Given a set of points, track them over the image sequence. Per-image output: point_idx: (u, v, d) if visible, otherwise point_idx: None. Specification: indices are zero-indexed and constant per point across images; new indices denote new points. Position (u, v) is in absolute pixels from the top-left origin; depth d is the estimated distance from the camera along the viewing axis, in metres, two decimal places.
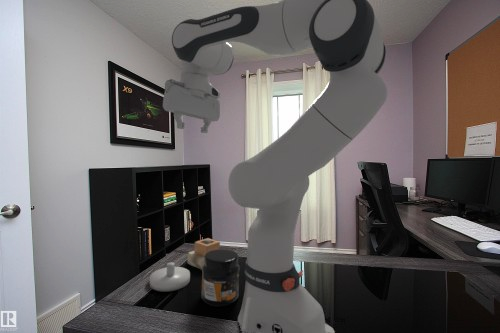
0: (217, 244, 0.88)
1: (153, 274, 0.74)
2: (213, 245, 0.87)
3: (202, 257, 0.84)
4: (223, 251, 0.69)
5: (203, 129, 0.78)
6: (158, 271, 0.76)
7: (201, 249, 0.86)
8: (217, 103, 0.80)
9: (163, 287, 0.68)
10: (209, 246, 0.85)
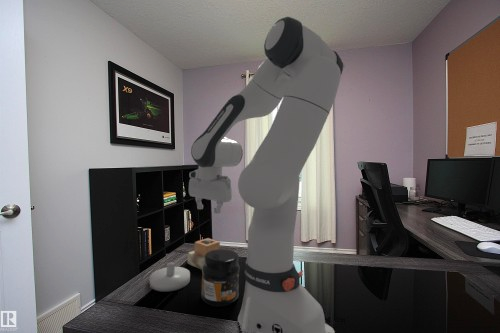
0: (217, 244, 0.88)
1: (153, 274, 0.74)
2: (213, 245, 0.87)
3: (202, 257, 0.84)
4: (223, 251, 0.69)
5: (202, 206, 0.92)
6: (158, 271, 0.76)
7: (201, 249, 0.86)
8: None
9: (163, 287, 0.68)
10: (209, 246, 0.85)
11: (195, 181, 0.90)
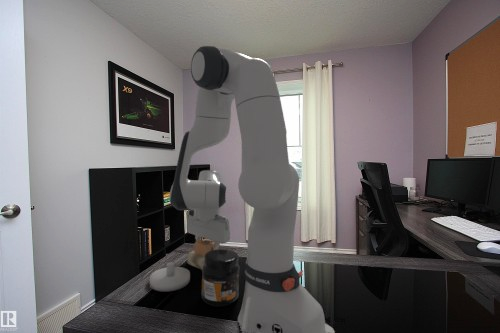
0: None
1: (153, 274, 0.74)
2: (213, 245, 0.87)
3: (202, 257, 0.84)
4: (223, 251, 0.69)
5: None
6: (158, 271, 0.76)
7: (201, 249, 0.86)
8: None
9: (163, 287, 0.68)
10: (209, 246, 0.85)
11: (193, 219, 0.90)
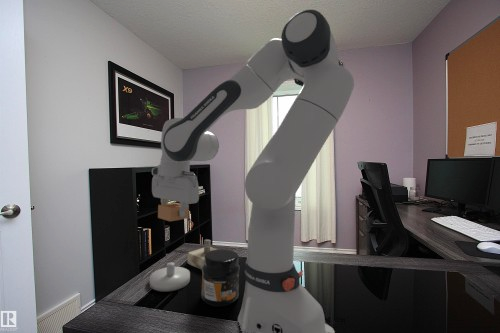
0: None
1: (153, 274, 0.74)
2: None
3: (202, 257, 0.84)
4: (223, 251, 0.69)
5: None
6: (158, 271, 0.76)
7: (165, 212, 0.71)
8: None
9: (163, 287, 0.68)
10: (174, 208, 0.71)
11: (158, 179, 0.76)
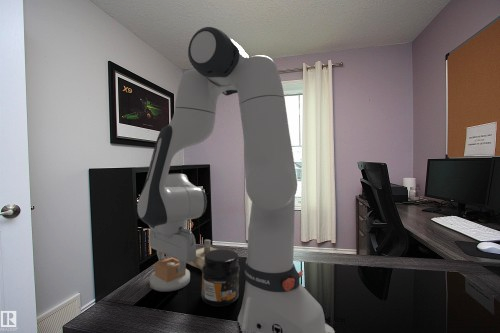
0: None
1: (153, 274, 0.74)
2: None
3: (202, 257, 0.84)
4: (223, 251, 0.69)
5: None
6: None
7: (162, 272, 0.71)
8: None
9: (163, 287, 0.68)
10: (171, 269, 0.70)
11: (155, 232, 0.75)
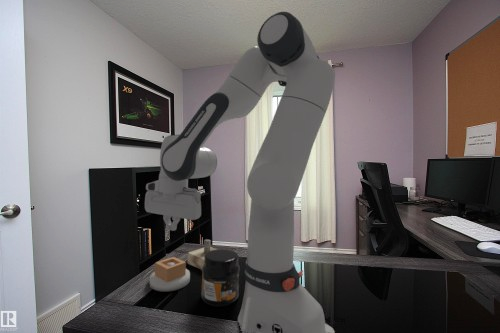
0: (182, 265, 0.74)
1: (153, 274, 0.74)
2: (177, 267, 0.72)
3: (202, 257, 0.84)
4: (223, 251, 0.69)
5: None
6: None
7: (162, 272, 0.71)
8: None
9: (163, 287, 0.68)
10: (171, 269, 0.70)
11: (154, 194, 0.75)
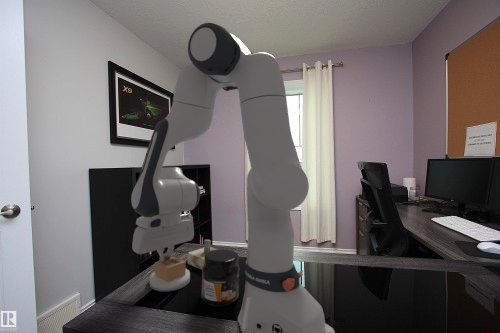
0: (182, 265, 0.74)
1: (153, 274, 0.74)
2: (176, 266, 0.72)
3: (202, 257, 0.84)
4: (223, 251, 0.69)
5: None
6: None
7: (162, 272, 0.71)
8: None
9: (163, 287, 0.68)
10: (171, 268, 0.70)
11: (155, 231, 0.70)
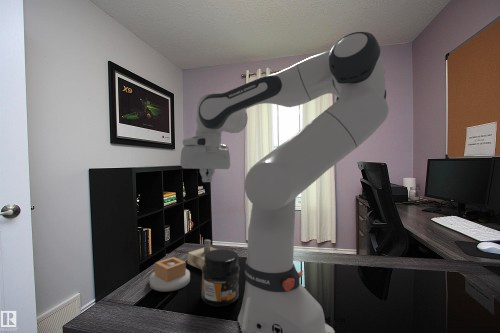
0: (182, 265, 0.74)
1: (153, 274, 0.74)
2: (177, 267, 0.72)
3: (202, 257, 0.84)
4: (223, 251, 0.69)
5: None
6: None
7: (162, 272, 0.71)
8: None
9: (163, 287, 0.68)
10: (171, 269, 0.70)
11: (200, 149, 0.77)
